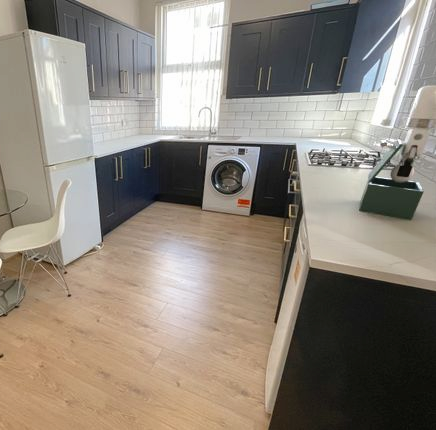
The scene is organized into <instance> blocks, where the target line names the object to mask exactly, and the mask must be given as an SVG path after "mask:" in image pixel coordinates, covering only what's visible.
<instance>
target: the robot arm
mask: <svg viewBox="0 0 436 430" xmlns="http://www.w3.org/2000/svg"><path fill="white" fill-rule="evenodd" d="M404 129H408V130H407V133H406V136H405V138H404V141H403V143H402V144H403V146H402V147H401V151H400V155H401V158H400V160H399V161H398V164H399V163H402V165H400V167H399V170H398V172H397V176H399V177H409V175H410V172H411V170H412V167H414V163H415V160H416V158H417V159H421V158H422V157H423V154H424V151H425V148H426V146H427V143H428V140H429V137H430V135H431V130H436V85H435V84H433V85H424V86H422V87H420V88H419V89H418V91H417V93H416V96H415V99H414V101H413V104H412V106H411V110H410V112H409V115H408V118H407V121H406V123H405V125H404Z"/></svg>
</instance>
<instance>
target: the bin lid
mask: <svg viewBox="0 0 436 430" xmlns="http://www.w3.org/2000/svg"><path fill="white" fill-rule="evenodd" d="M403 144H404V143H403V142H402V140H400V139H397V140H396V141H395V143H394V144H391V143H388V142H387V140H381V141H379V146H380V147H381V148H385V147H386V148H389V149H388V151H387V152H386V153H385V154H384V156H383V157H382V158H381V159H380V161H379V162H378V163H377V164H376V165H375V166H374V168H372V170H370V172H369V173H368V175H367V181H368V183H371V182H372V180H373V179H374V178H375V177H378V175H379V174H380V173H381V171H383V169H384V168H385V167H386V166H387V165H388V163H389V162H390V161H391V160H392V159H393V158H394V156H395V155H396V154H397V153H398V152H399V151H400V149H402V147H403Z"/></svg>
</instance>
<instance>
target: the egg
mask: <svg viewBox="0 0 436 430" xmlns="http://www.w3.org/2000/svg"><path fill="white" fill-rule="evenodd" d="M400 165H402V163H399V162H398V163H397V164H396V165H395V166H394V167H392V169H391V170H390V174H389V175H390V179H393V180H394V181H395V182H399V183H401V182H406V181H411V179H412V178H413V177H414V175H415V168H414V166H413V167H412V170H411V172H410V175H409V177H399V176H397V172H398V170H399V167H400Z"/></svg>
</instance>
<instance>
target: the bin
mask: <svg viewBox="0 0 436 430" xmlns="http://www.w3.org/2000/svg"><path fill="white" fill-rule="evenodd" d="M423 195H424V189H423V187H422V186H421V184H420V182H419V181H418V182H417V181H411V180H408V181H406V182H401V183H399V182H395V181H394V180H393V179H392V178H387V177H379V176H376V177H375V178H374V179H373V180H372V182H371V183H368V180H367V181H366V183H365V186H364V189H363V193H362V195H361V198H360V201H359V208H358V211H359V212H364V213H370V214H375V215H381V216H385V217H392V218H397V219H403V220H407V221H412V220H413V218H414V215H415V213H416V211H417V209H418V206H419V204H420V202H421V199H422V196H423Z"/></svg>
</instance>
